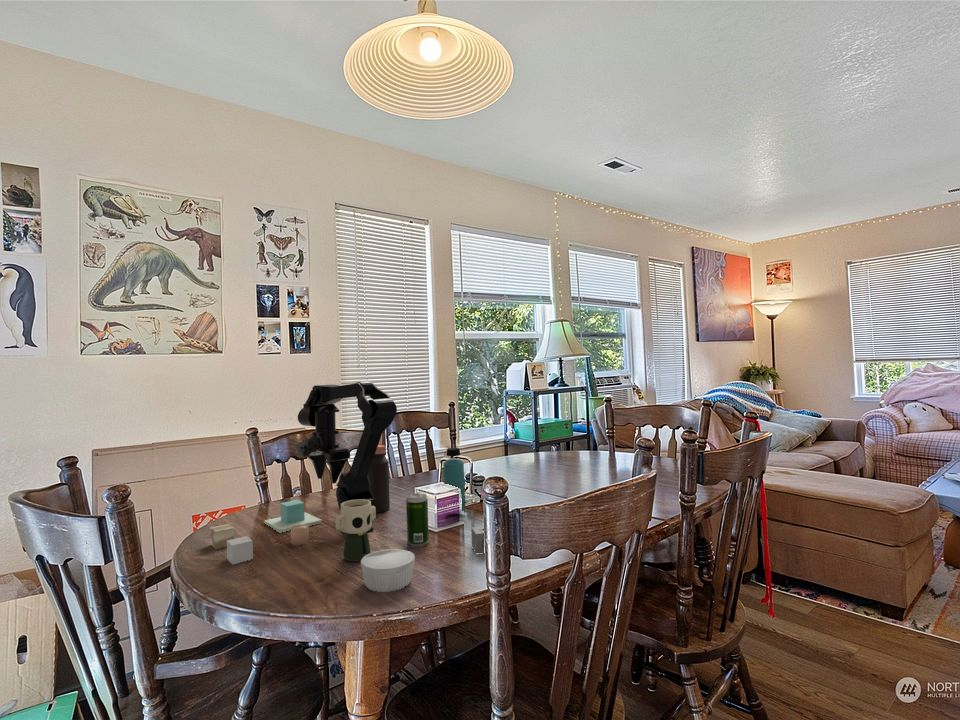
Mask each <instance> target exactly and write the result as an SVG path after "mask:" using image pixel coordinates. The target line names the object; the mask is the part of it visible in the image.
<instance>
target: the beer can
mask: <svg viewBox="0 0 960 720" xmlns="http://www.w3.org/2000/svg"><path fill="white" fill-rule="evenodd" d="M406 497H407V498H406V500H405V501H406V502H405V503H406V538H407V543H408V545H409V546H410V545H411V546H410V547H422V546H421V545H423V546H426V545H427V544H428V543H429V505H428V502H429V501H428V500H429V499H428V496H427V494H426V493H422V492H421V493H420V492H419V493H417V492H416V493H411V494H408V495H407V496H406ZM425 544H426V545H425Z"/></svg>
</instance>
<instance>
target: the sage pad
mask: <svg viewBox="0 0 960 720" xmlns="http://www.w3.org/2000/svg"><path fill="white" fill-rule="evenodd" d="M304 513H305V520H303V521H298V522H294V523H290V524H287V523H285V522H283V521H281V516H278V517H274V518H269V519H265V520H263V521H264V523H265V524H267V525H268V526H267V525H266V526H267V527H269V526H270V527H271V528H270V527H269V528H270V529H272V528H273V529H272V530H274V531H275V530H276V531H275V532H277V533H278V534H282V532H283V533H287V532H286V531H288V532H291V531H290V530H291V527H292V526H295V525H300V524H306V525H308V526H309V527H311V526H312V525H313V526H315V525H316V524H317V525H320V524H322V521H323V520H322V519H320V518H319V517H316V516H314V515H312V514H310V513H308V512H306V511H304ZM264 523H263V524H264ZM265 524H264V525H265ZM317 525H316V526H317Z"/></svg>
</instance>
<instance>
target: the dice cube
mask: <svg viewBox="0 0 960 720" xmlns="http://www.w3.org/2000/svg"><path fill="white" fill-rule="evenodd" d="M472 547H473V548H474V550H475V552H476V553H483V554H482V555H485V554H484V526H474V527H471V548H472ZM473 548H472V549H473ZM474 550H473V551H474ZM475 552H474V553H475ZM476 553H475V554H476Z"/></svg>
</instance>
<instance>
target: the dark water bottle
mask: <svg viewBox="0 0 960 720" xmlns="http://www.w3.org/2000/svg"><path fill="white" fill-rule="evenodd" d="M385 455H386V445H385V444H378V447H377V450H376V452H375V455H374V458H373V461H372V464H371V467H370V470H369V473H368V479H369V482H370V487H369V489H370V490H371V492H372V494H373V495H374V497H375V499H376V502H375V508H376V513H383V512H386V511H388V510H390V508H391V507H390V505H391V502H390V501H391V500H390V467H389V466H390V465H389V463H390V462H389V460H388V459H387V458H386V457H385Z"/></svg>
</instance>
